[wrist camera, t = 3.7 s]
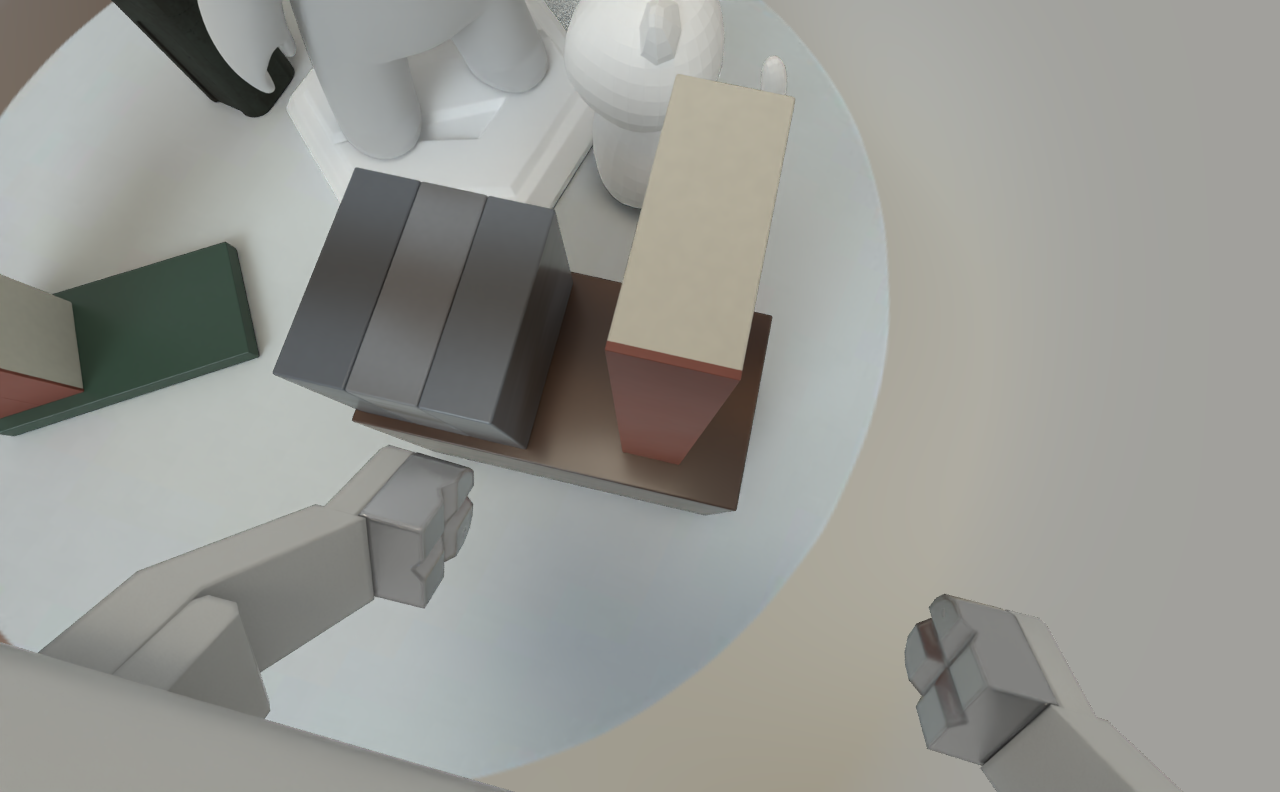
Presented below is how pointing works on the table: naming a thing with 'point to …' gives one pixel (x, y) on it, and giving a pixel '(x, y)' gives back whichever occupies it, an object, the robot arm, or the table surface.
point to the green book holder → (119, 336)
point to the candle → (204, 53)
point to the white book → (695, 264)
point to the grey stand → (490, 344)
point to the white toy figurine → (422, 89)
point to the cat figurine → (642, 76)
